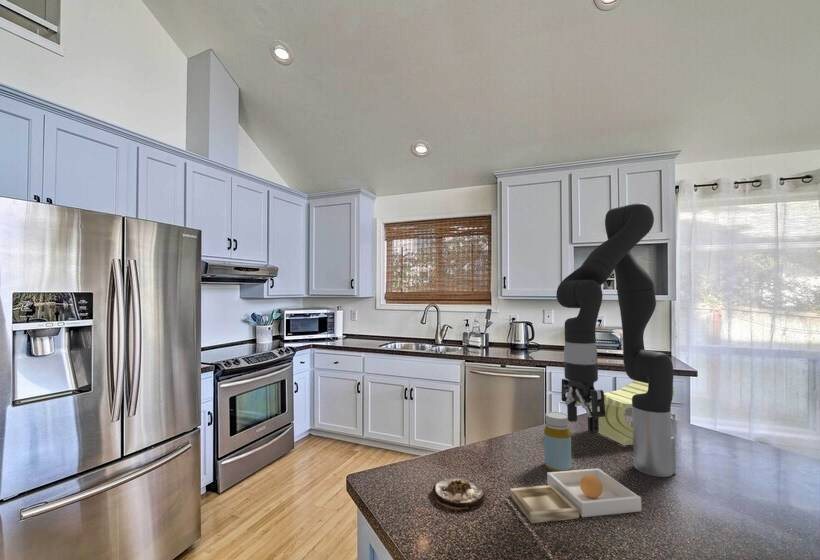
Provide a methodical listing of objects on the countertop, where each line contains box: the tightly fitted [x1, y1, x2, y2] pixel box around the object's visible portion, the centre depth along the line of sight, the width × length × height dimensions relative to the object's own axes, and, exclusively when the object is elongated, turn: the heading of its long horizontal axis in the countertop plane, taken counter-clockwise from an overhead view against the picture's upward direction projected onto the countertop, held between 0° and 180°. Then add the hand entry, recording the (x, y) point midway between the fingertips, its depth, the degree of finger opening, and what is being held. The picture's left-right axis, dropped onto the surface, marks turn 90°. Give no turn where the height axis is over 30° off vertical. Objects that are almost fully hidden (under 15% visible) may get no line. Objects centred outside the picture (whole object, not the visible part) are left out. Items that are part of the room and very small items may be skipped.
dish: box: [546, 468, 642, 518], centre depth 90 cm, size 15×15×4 cm
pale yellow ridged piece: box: [575, 380, 675, 445], centre depth 131 cm, size 30×16×18 cm, turn 105°
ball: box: [580, 474, 603, 498], centre depth 90 cm, size 5×5×5 cm
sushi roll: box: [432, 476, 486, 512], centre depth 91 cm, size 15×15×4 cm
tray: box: [509, 484, 580, 524], centre depth 86 cm, size 11×11×2 cm
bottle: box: [543, 411, 572, 472], centre depth 106 cm, size 7×7×15 cm
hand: (582, 426), depth 92 cm, fingers open, 8 cm apart
